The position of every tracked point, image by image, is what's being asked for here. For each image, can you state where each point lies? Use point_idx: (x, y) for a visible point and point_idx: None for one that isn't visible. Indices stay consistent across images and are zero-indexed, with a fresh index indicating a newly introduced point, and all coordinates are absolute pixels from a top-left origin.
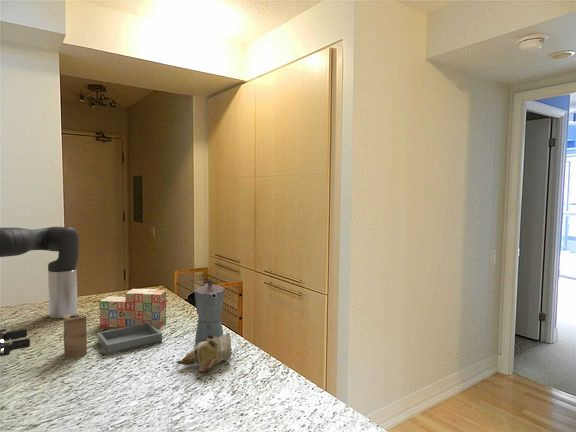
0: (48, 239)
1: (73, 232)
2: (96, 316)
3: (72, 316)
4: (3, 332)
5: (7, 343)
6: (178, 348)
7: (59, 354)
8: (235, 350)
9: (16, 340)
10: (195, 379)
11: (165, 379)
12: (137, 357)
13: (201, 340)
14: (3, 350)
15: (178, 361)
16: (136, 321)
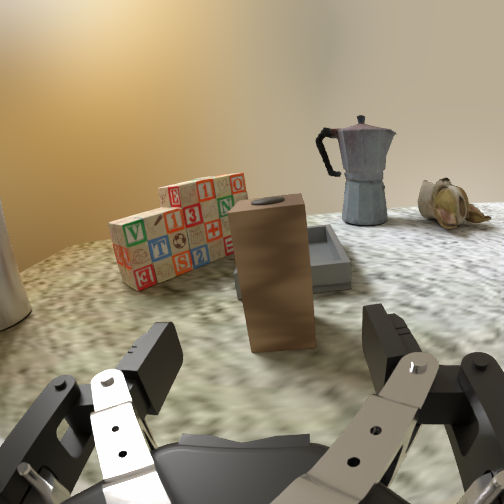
0: None
1: None
2: (77, 291)
3: (270, 200)
4: (108, 397)
5: (435, 374)
6: (372, 235)
7: (258, 362)
8: (406, 212)
9: (385, 341)
10: (486, 231)
11: (486, 244)
12: (389, 261)
13: (379, 213)
14: (414, 439)
15: (455, 223)
16: (211, 246)
